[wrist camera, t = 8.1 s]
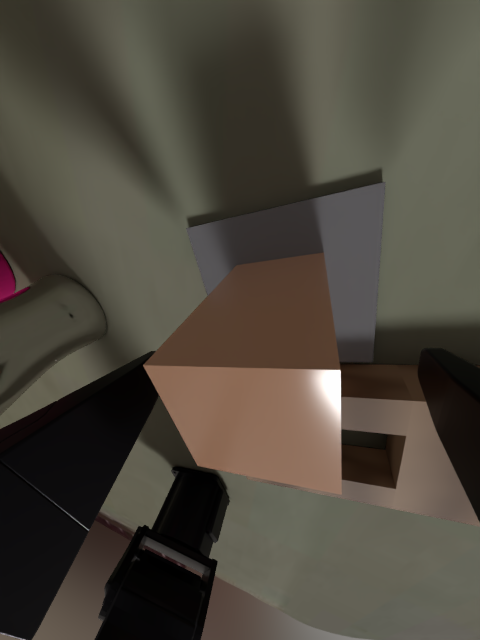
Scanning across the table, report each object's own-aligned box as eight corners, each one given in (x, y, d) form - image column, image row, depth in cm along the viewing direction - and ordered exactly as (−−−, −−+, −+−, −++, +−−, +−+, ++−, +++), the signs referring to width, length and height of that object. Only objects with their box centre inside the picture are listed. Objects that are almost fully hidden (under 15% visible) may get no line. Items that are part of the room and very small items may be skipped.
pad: (230, 357, 16) (228, 361, 16) (189, 227, 12) (186, 228, 12) (371, 357, 13) (372, 362, 13) (382, 181, 9) (385, 182, 9)
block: (252, 333, 14) (197, 465, 7) (236, 265, 12) (142, 365, 5) (327, 330, 12) (341, 494, 6) (323, 252, 10) (341, 370, 4)
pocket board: (253, 449, 22) (247, 479, 19) (225, 362, 17) (212, 389, 14) (466, 482, 16) (489, 528, 14) (520, 366, 11) (570, 410, 9)
